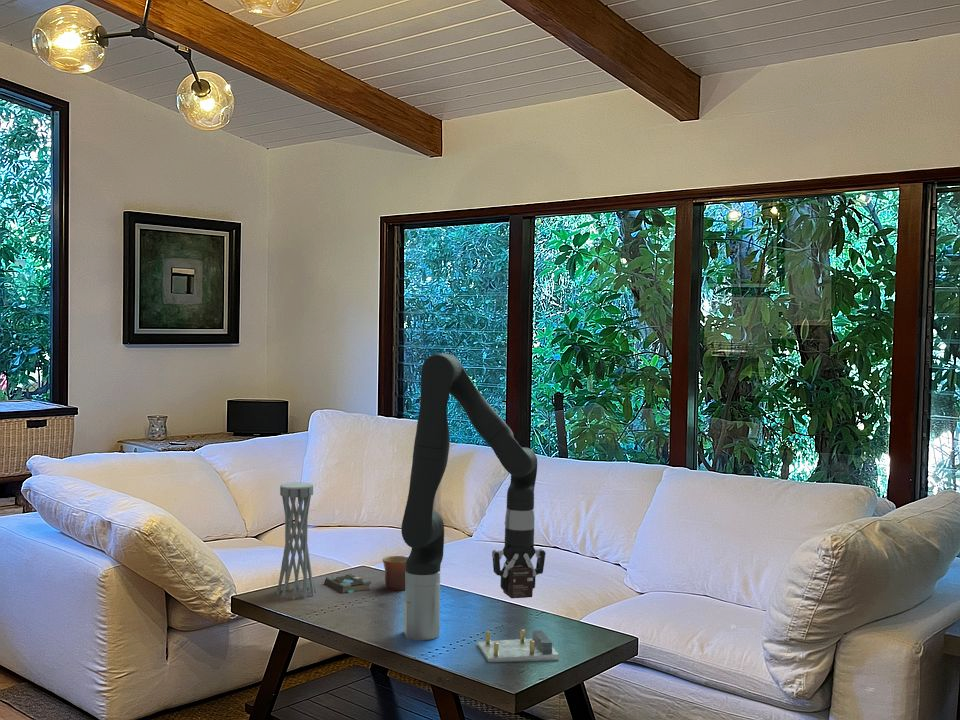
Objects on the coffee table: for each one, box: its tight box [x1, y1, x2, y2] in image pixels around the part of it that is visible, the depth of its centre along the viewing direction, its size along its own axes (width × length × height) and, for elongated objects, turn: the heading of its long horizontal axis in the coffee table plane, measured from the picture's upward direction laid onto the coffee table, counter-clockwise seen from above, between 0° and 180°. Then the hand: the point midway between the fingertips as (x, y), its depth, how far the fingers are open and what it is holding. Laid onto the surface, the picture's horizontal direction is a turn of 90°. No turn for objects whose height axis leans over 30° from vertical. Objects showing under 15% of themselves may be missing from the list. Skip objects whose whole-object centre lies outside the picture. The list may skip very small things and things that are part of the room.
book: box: [323, 572, 372, 594], centre depth 300 cm, size 20×12×5 cm, turn 35°
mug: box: [382, 555, 409, 592], centre depth 303 cm, size 12×9×10 cm
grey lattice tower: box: [275, 482, 317, 600], centre depth 290 cm, size 14×13×35 cm
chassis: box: [476, 629, 560, 663], centre depth 245 cm, size 18×13×4 cm
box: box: [502, 565, 534, 599], centre depth 248 cm, size 6×6×7 cm
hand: (517, 590), depth 248 cm, fingers closed on box, 6 cm apart
